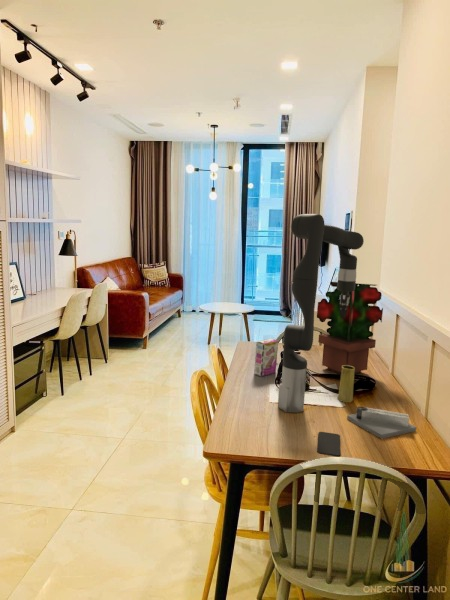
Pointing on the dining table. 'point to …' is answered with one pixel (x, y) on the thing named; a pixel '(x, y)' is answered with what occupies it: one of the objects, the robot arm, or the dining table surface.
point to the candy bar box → (266, 357)
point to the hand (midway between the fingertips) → (343, 316)
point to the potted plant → (349, 327)
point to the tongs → (382, 416)
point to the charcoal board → (381, 427)
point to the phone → (328, 444)
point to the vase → (346, 384)
